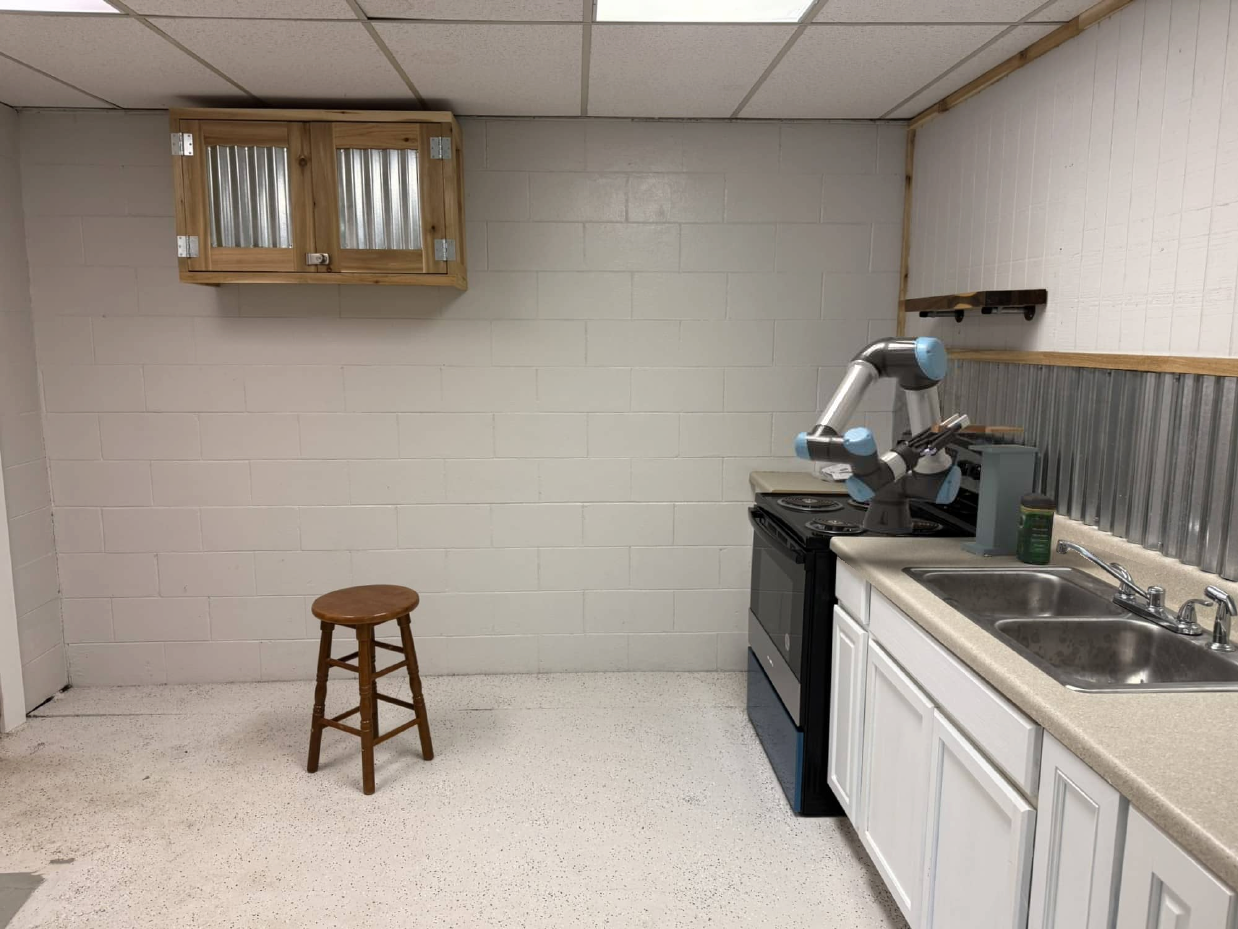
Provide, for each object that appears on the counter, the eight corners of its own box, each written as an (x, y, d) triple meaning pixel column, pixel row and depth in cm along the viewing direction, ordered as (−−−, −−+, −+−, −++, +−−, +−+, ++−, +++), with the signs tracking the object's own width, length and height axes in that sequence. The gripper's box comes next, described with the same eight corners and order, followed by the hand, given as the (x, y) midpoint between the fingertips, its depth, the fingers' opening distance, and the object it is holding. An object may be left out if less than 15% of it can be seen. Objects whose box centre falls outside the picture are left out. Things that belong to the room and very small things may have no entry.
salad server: (925, 431, 235) (925, 423, 235) (1003, 430, 243) (1003, 423, 243) (943, 433, 228) (943, 426, 228) (1023, 433, 236) (1024, 425, 236)
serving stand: (961, 549, 245) (968, 445, 241) (1006, 546, 250) (1014, 444, 246) (983, 556, 237) (991, 448, 233) (1029, 553, 241) (1038, 448, 238)
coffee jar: (1053, 566, 227) (1059, 497, 225) (1021, 564, 229) (1026, 495, 226) (1043, 558, 236) (1049, 491, 234) (1013, 556, 238) (1018, 490, 236)
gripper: (884, 470, 238) (948, 427, 242) (921, 478, 223) (988, 432, 227) (874, 447, 236) (939, 404, 240) (910, 453, 221) (979, 408, 225)
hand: (963, 418), depth 234 cm, fingers closed on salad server, 3 cm apart
